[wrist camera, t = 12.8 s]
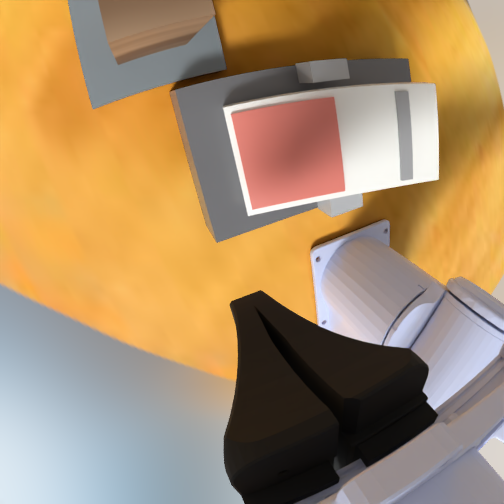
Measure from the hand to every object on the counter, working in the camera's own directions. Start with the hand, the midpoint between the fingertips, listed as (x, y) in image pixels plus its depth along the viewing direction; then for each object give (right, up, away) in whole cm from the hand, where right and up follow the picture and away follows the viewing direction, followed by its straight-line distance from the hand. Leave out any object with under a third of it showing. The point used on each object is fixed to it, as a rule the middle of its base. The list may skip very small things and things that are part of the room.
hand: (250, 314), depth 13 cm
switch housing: (+4, +11, +8) cm, 14 cm away
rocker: (+5, +9, +4) cm, 11 cm away
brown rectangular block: (-6, +15, +1) cm, 16 cm away
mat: (-6, +15, +1) cm, 17 cm away
